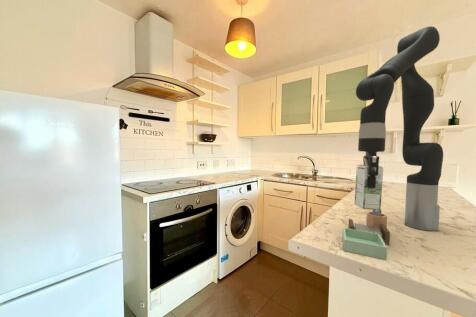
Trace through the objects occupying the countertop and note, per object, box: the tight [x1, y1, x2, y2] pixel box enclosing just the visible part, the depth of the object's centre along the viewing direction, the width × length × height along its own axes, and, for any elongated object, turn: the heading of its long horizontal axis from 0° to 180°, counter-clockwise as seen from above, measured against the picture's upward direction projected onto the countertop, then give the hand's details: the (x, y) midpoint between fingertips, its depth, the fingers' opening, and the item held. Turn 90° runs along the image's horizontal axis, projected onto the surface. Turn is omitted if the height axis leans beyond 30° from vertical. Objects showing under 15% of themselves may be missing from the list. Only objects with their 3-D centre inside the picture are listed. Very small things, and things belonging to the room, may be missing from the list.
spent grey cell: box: [371, 208, 382, 216], centre depth 74 cm, size 3×3×8 cm
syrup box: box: [354, 164, 384, 210], centre depth 67 cm, size 6×6×14 cm
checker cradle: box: [347, 218, 391, 246], centre depth 68 cm, size 11×8×4 cm
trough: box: [342, 227, 388, 260], centre depth 61 cm, size 10×10×3 cm
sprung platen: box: [354, 222, 382, 237], centre depth 68 cm, size 7×7×1 cm
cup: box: [365, 211, 388, 230], centre depth 74 cm, size 6×6×6 cm
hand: (369, 186), depth 67 cm, fingers closed on syrup box, 7 cm apart
